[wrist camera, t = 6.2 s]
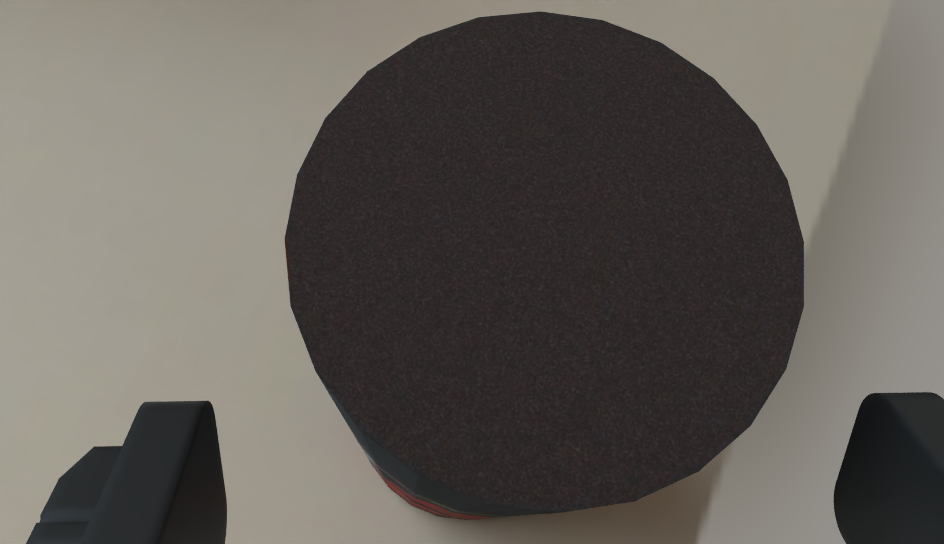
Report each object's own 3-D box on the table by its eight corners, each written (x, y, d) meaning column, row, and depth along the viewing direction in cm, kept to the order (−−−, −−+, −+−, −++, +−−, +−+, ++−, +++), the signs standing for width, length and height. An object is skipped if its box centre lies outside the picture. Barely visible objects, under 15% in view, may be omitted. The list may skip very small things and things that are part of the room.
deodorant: (314, 410, 24) (171, 238, 9) (463, 266, 25) (536, -73, 11) (467, 567, 23) (567, 640, 9) (612, 408, 24) (905, 242, 10)
